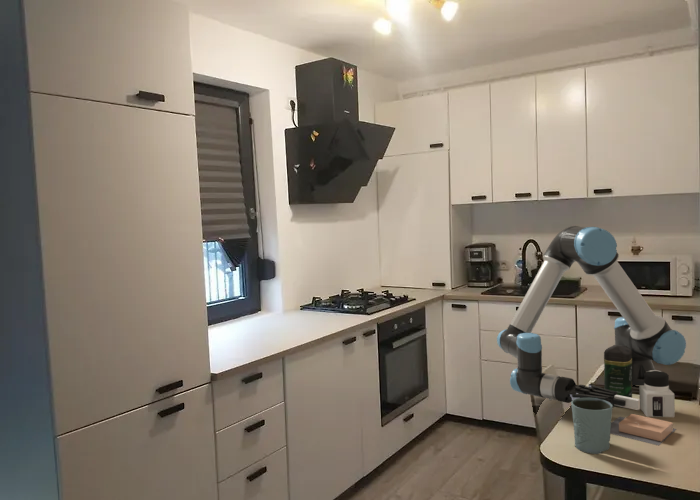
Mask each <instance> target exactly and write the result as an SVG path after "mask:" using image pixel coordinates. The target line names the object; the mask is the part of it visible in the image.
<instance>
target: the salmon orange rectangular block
mask: <svg viewBox="0 0 700 500" xmlns="http://www.w3.org/2000/svg"><path fill="white" fill-rule="evenodd" d="M673 425H674V424H673V421H672V422H671V421H668V420H663V419H659V418H655V417H647V416H644V415H640V414H639V415H638V414H635V413H634V414H633V413H629V415H627V416H626V417H625V419H624V420H622V421H621V422H620V423H619V431H620V432H624V433H628V434H632V435H637V436H641V437H645V438H649V439H653V440H657V441H662V440H663V439H665V438H666V437H667V436H668V435H669V434H670V433H671V432H672V431H673ZM665 440H666V439H665Z"/></svg>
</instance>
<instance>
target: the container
mask: <svg viewBox="0 0 700 500" xmlns="http://www.w3.org/2000/svg"><path fill="white" fill-rule="evenodd" d="M669 379H670V376H669V374H668V373H667V372H665V371H662V370H657V369H655V370H650V371H647V372H645V373H644V385H640V386H639V387H638V388H639V389H638V390H639V392H638V395H639V398H638V399H640V409H639V410H641V412H642V413H643V414H644V415H645V417H649V418H675V416H676V415H675V414H676V413H675V407H676V405H675V393H674V392H673V391H672V390H671V389H670V383H669V381H670V380H669Z"/></svg>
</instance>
